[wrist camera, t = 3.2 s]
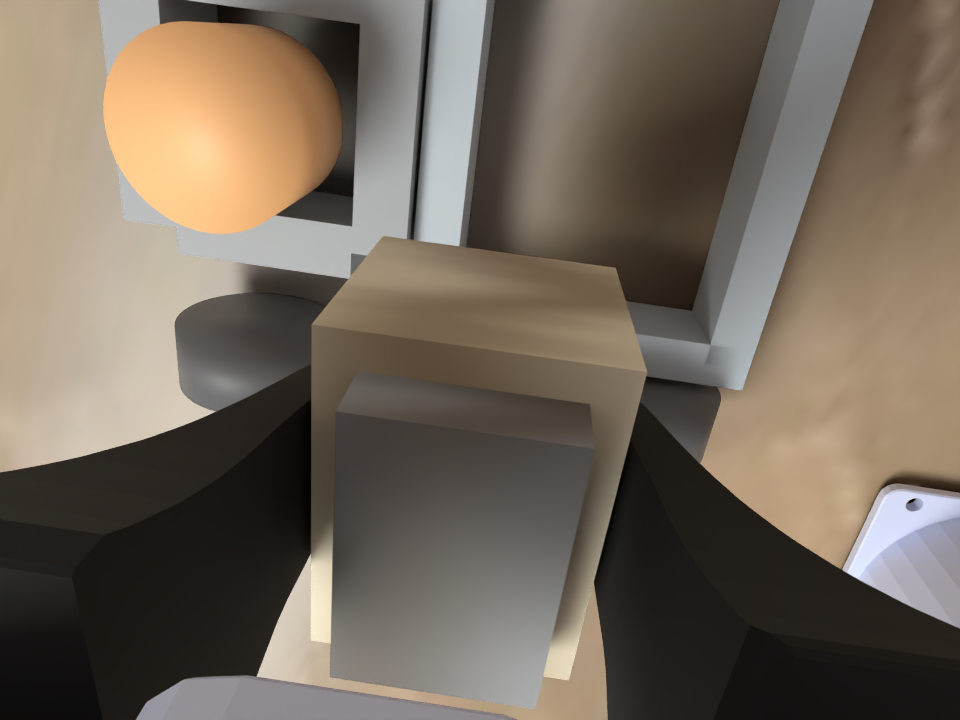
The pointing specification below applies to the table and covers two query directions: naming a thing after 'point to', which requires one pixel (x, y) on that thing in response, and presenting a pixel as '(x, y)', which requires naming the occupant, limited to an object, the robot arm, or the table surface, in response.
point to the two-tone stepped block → (465, 465)
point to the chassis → (449, 187)
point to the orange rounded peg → (221, 122)
